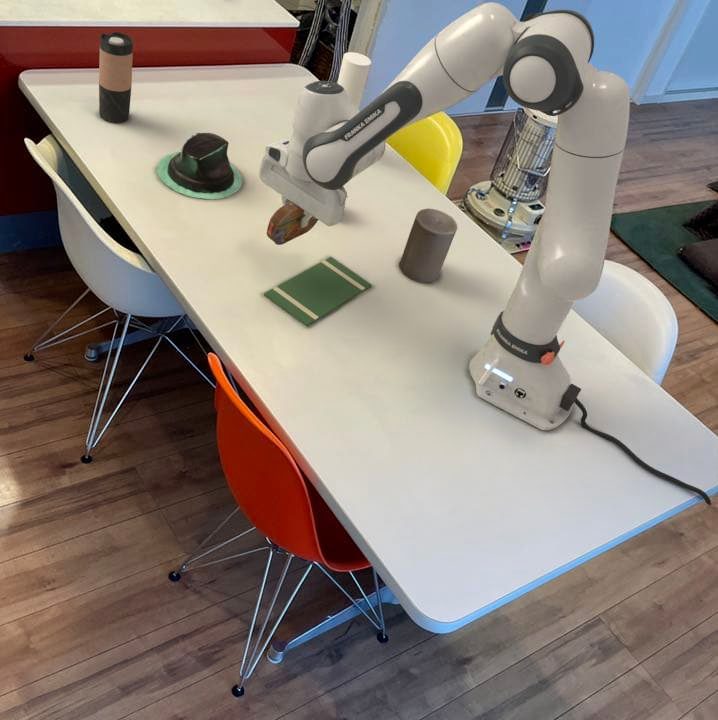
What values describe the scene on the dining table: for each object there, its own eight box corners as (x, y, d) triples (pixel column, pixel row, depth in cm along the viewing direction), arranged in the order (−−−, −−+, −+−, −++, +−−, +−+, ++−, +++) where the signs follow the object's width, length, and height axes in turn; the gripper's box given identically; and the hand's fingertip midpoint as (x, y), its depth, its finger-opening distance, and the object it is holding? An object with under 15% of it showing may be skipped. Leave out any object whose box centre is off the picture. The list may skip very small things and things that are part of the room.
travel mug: (126, 126, 195) (129, 48, 181) (94, 119, 193) (95, 40, 180) (133, 112, 200) (136, 36, 187) (102, 105, 199) (104, 28, 186)
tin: (270, 250, 158) (281, 218, 152) (259, 240, 159) (270, 209, 153) (317, 228, 169) (329, 197, 163) (306, 219, 169) (318, 188, 164)
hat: (227, 207, 178) (143, 183, 178) (242, 205, 197) (165, 183, 196) (242, 141, 175) (156, 117, 175) (256, 145, 193) (177, 123, 193)
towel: (371, 286, 172) (372, 284, 171) (306, 326, 157) (307, 324, 156) (330, 258, 175) (330, 256, 175) (263, 295, 161) (264, 292, 160)
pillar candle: (390, 264, 179) (408, 210, 169) (416, 252, 186) (435, 199, 176) (421, 288, 176) (442, 234, 166) (447, 274, 182) (468, 221, 172)
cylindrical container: (353, 148, 215) (376, 61, 198) (339, 156, 210) (361, 67, 193) (332, 137, 217) (353, 50, 200) (318, 144, 212) (338, 55, 195)
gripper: (358, 183, 151) (342, 241, 160) (281, 134, 157) (269, 192, 167) (338, 192, 147) (323, 251, 156) (259, 141, 153) (249, 201, 162)
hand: (295, 220), depth 161 cm, fingers closed on tin, 2 cm apart
